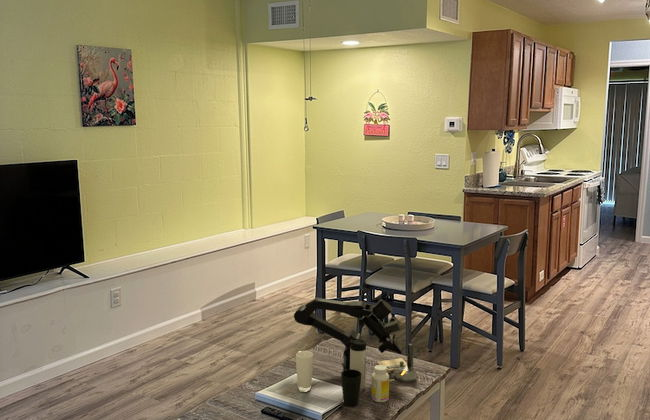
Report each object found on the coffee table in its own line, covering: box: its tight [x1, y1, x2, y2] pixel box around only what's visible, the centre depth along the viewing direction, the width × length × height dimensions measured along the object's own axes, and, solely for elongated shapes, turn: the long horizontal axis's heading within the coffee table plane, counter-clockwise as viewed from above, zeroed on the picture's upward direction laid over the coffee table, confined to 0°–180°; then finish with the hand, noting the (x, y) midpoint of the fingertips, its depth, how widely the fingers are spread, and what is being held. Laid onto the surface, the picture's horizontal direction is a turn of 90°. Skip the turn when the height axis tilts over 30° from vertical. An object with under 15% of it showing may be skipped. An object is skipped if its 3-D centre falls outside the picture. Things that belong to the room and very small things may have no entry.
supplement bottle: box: [370, 364, 390, 403], centre depth 227 cm, size 7×7×13 cm
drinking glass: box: [295, 350, 314, 388], centre depth 234 cm, size 7×7×15 cm
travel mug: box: [350, 339, 367, 392], centre depth 235 cm, size 6×7×20 cm
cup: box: [340, 369, 362, 408], centre depth 223 cm, size 8×8×12 cm
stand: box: [376, 357, 407, 374], centre depth 256 cm, size 12×9×3 cm
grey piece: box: [393, 343, 417, 384], centre depth 246 cm, size 12×9×12 cm
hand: (401, 352), depth 251 cm, fingers closed
